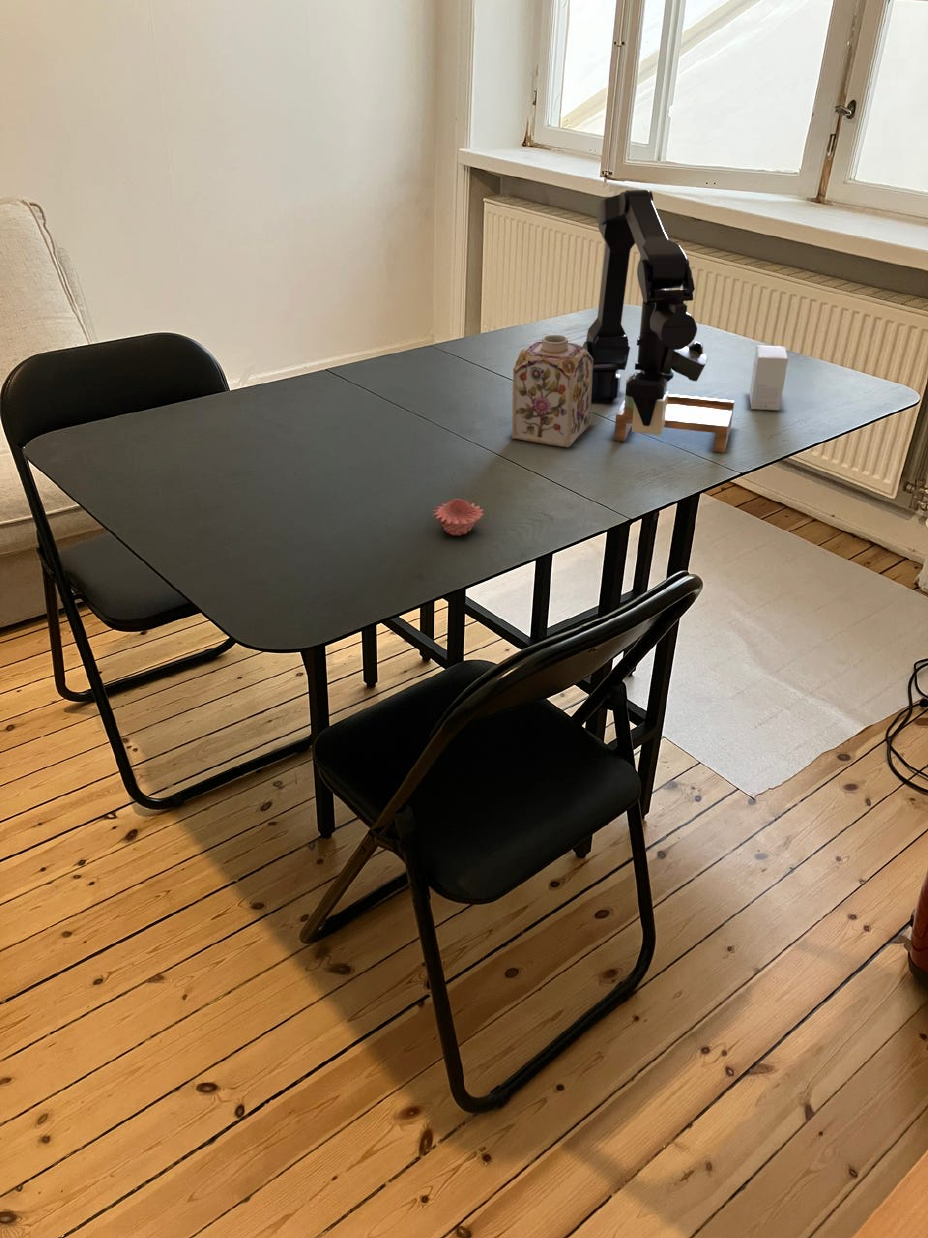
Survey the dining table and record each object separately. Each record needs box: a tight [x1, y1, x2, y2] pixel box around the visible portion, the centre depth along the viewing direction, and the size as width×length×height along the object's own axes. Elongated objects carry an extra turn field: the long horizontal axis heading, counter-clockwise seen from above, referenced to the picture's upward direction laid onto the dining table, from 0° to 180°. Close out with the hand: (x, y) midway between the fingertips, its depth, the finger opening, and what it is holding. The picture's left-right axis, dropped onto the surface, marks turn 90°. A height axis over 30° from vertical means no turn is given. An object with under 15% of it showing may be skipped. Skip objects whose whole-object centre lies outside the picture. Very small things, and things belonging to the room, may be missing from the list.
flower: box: [432, 498, 485, 536], centre depth 154 cm, size 8×8×6 cm
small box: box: [749, 344, 789, 411], centre depth 197 cm, size 8×6×10 cm
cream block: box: [631, 391, 669, 436], centre depth 173 cm, size 5×5×6 cm
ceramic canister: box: [624, 375, 634, 410], centre depth 185 cm, size 5×5×5 cm
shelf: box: [613, 393, 735, 453], centre depth 185 cm, size 20×11×6 cm, turn 72°
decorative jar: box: [511, 334, 594, 448], centre depth 184 cm, size 12×12×18 cm
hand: (649, 419), depth 174 cm, fingers closed on cream block, 5 cm apart
